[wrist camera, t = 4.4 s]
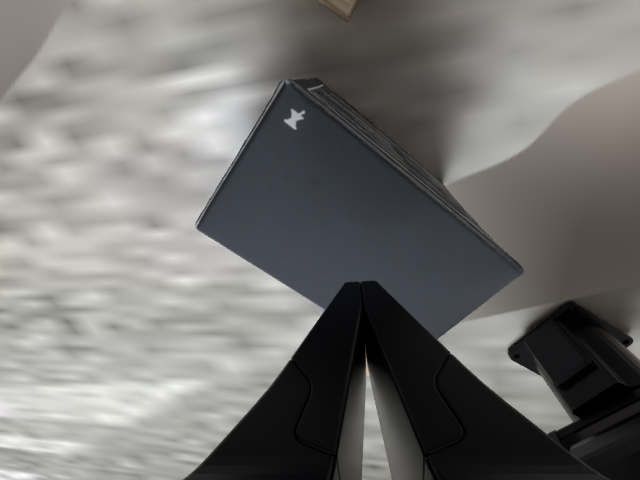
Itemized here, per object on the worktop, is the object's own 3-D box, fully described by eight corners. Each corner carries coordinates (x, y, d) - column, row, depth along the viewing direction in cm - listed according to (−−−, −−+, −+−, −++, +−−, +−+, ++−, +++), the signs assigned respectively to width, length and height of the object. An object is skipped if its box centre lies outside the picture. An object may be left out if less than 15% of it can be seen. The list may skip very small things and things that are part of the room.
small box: (254, 164, 20) (180, 232, 11) (313, 73, 18) (283, 60, 9) (378, 253, 23) (405, 372, 13) (446, 184, 20) (537, 269, 11)
